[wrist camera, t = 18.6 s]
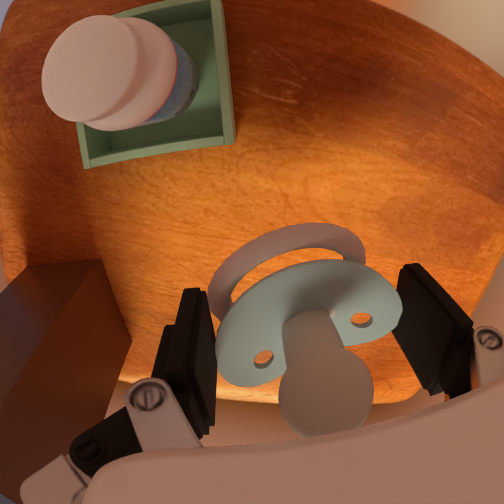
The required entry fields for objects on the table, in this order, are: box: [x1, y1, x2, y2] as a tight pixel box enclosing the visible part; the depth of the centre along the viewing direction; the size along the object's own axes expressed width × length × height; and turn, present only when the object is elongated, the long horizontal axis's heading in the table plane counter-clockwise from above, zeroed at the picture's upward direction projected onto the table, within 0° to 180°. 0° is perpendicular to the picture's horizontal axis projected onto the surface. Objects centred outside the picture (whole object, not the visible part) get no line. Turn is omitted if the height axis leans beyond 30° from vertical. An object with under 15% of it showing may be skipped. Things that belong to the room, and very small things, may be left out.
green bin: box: [76, 0, 236, 169], centre depth 17 cm, size 10×10×5 cm
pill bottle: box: [42, 15, 199, 131], centre depth 14 cm, size 6×6×11 cm
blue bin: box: [0, 259, 132, 504], centre depth 16 cm, size 10×10×27 cm
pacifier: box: [207, 223, 403, 438], centre depth 9 cm, size 7×6×6 cm
